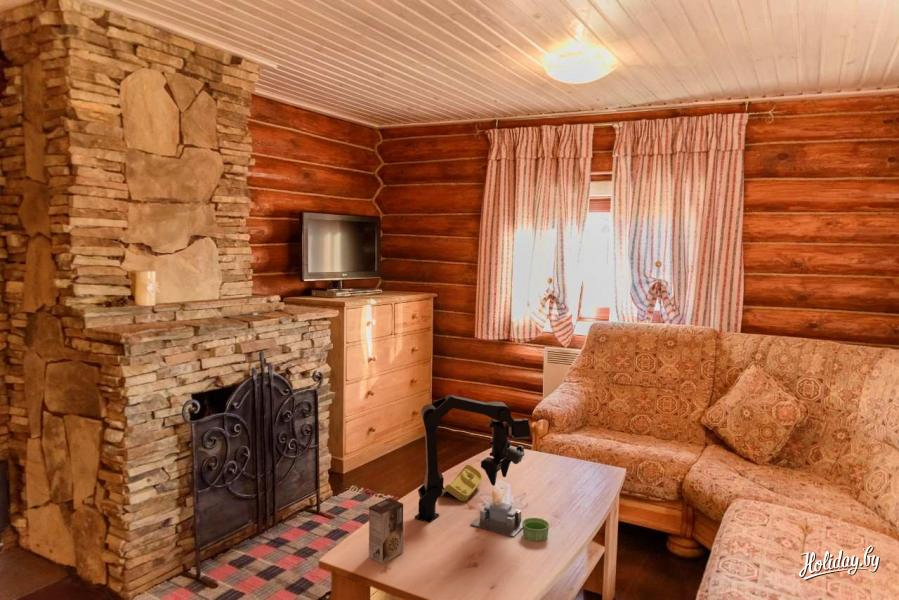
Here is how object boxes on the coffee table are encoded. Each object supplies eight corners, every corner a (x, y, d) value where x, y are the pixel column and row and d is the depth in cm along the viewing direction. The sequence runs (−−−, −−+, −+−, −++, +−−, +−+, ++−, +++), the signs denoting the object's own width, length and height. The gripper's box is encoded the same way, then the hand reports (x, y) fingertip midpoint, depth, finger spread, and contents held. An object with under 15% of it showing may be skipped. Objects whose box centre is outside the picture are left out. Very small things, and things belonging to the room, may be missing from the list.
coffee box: (388, 546, 195) (389, 497, 193) (403, 553, 191) (404, 502, 189) (367, 557, 188) (368, 506, 186) (382, 564, 184) (383, 512, 182)
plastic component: (467, 497, 228) (445, 481, 231) (459, 512, 230) (437, 496, 233) (486, 475, 246) (465, 461, 249) (478, 489, 248) (458, 475, 251)
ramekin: (552, 534, 205) (553, 521, 205) (542, 545, 198) (543, 532, 197) (528, 527, 210) (528, 515, 209) (517, 538, 202) (517, 525, 202)
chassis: (513, 537, 202) (513, 524, 202) (470, 525, 210) (470, 512, 210) (529, 521, 214) (530, 508, 214) (488, 510, 222) (488, 498, 222)
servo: (512, 528, 208) (513, 508, 207) (483, 520, 213) (484, 501, 213) (517, 523, 211) (517, 504, 210) (488, 515, 217) (489, 497, 216)
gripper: (510, 450, 205) (508, 495, 207) (531, 435, 221) (529, 477, 223) (480, 444, 211) (479, 488, 212) (503, 430, 227) (501, 471, 228)
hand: (498, 481), depth 219 cm, fingers open, 9 cm apart
